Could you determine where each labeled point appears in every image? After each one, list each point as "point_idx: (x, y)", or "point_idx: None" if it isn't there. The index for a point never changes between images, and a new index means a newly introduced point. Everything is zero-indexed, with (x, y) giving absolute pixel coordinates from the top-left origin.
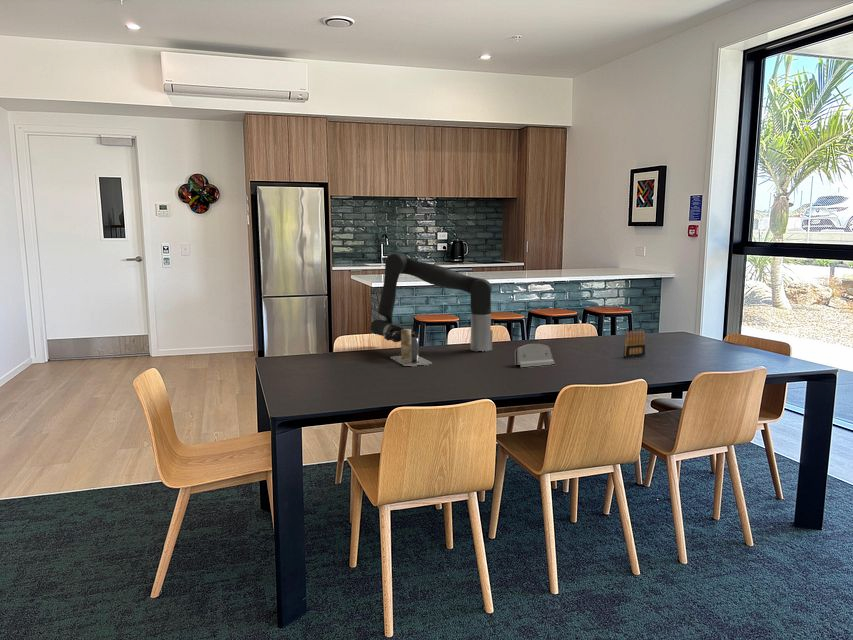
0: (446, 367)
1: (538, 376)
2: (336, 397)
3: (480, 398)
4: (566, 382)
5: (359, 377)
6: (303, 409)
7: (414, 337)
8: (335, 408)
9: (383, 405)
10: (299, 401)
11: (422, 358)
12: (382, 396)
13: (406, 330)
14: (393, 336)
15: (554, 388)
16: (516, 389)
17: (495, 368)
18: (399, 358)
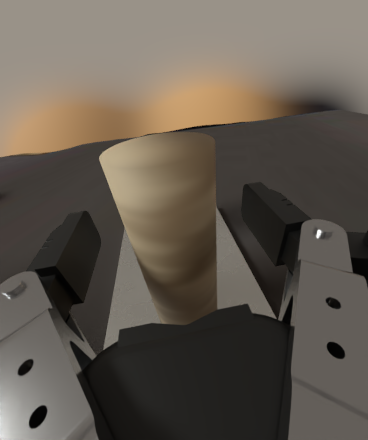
0: (111, 202)
1: (33, 167)
2: (307, 125)
3: (159, 133)
4: (38, 156)
5: (316, 160)
6: (325, 114)
7: (91, 236)
8: (293, 117)
9: (249, 122)
10: (346, 119)
11: (122, 269)
12: (253, 129)
13: (166, 135)
14: (295, 208)
15: (73, 147)
16: (108, 144)
17: (30, 193)
18: (228, 285)
